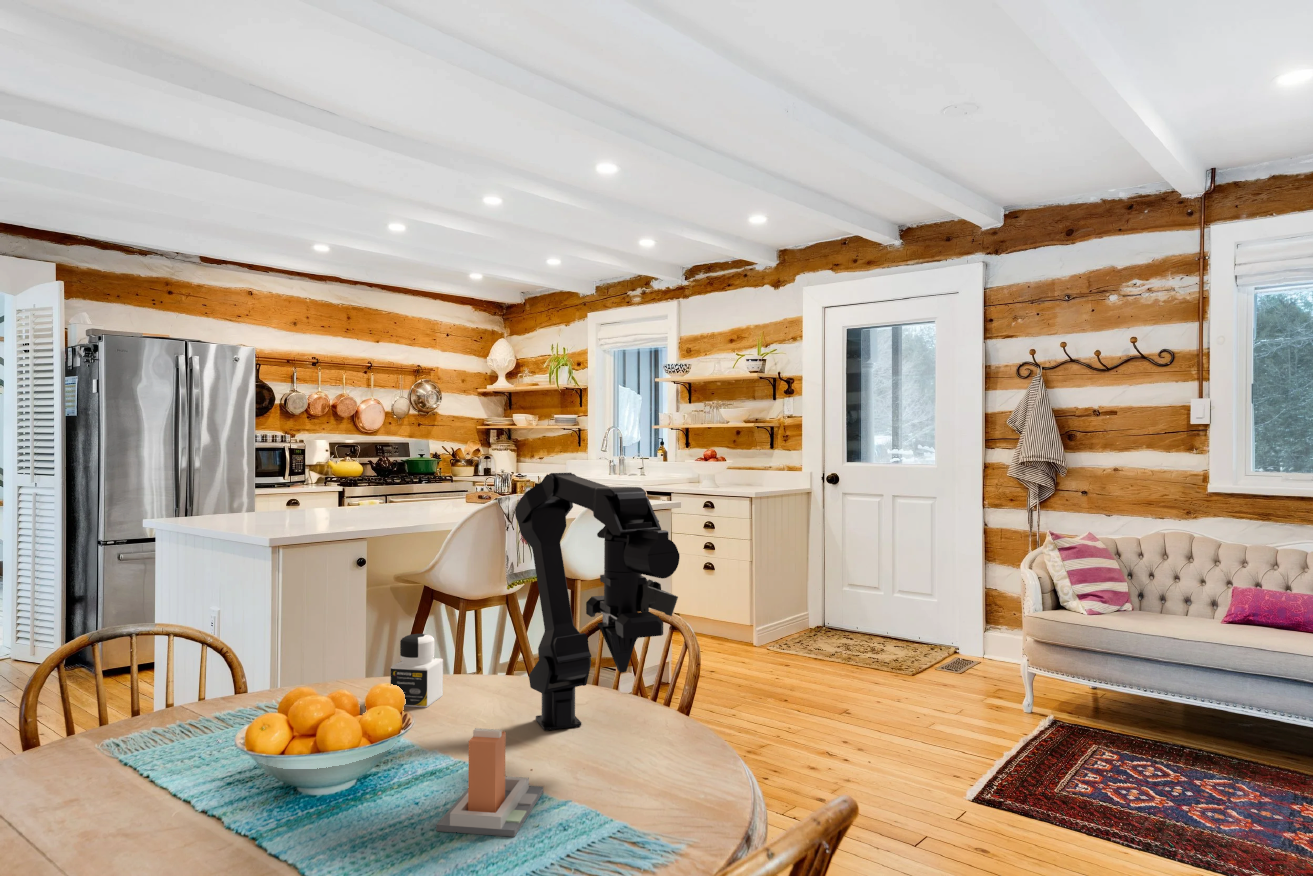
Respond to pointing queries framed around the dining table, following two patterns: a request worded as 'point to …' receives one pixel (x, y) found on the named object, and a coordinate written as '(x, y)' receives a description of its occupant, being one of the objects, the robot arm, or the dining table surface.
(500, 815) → the grey framed base plate
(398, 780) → the dining table surface
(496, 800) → the orange juice carton
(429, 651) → the medicine bottle
